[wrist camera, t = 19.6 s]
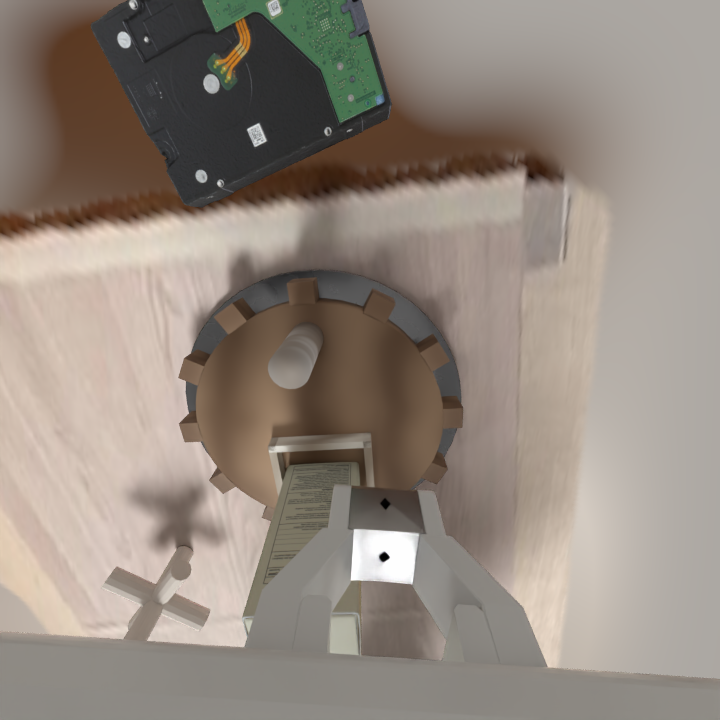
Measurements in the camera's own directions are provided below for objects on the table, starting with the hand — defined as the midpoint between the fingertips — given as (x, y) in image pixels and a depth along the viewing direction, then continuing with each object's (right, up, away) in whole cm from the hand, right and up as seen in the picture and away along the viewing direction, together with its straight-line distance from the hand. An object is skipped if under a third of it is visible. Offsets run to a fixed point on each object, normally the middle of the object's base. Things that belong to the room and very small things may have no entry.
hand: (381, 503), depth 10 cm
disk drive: (-7, +22, +12) cm, 26 cm away
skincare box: (-4, -6, +19) cm, 21 cm away
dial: (-4, 0, +20) cm, 20 cm away
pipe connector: (-20, -17, +27) cm, 38 cm away
